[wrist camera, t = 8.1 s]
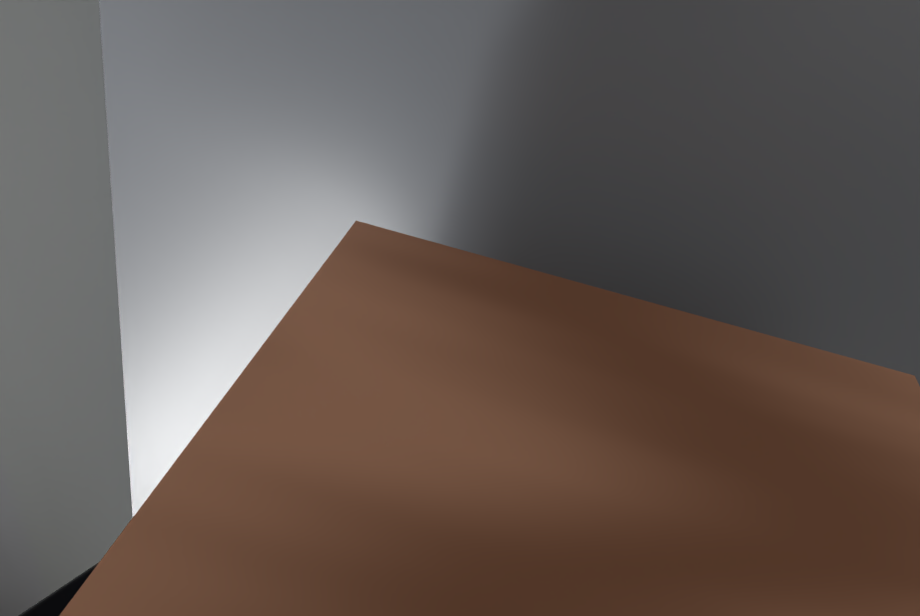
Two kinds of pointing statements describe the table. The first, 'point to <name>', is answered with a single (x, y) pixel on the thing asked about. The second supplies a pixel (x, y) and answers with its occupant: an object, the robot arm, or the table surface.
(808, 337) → the grey plate
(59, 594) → the robot arm
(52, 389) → the table surface
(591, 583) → the terracotta cube
